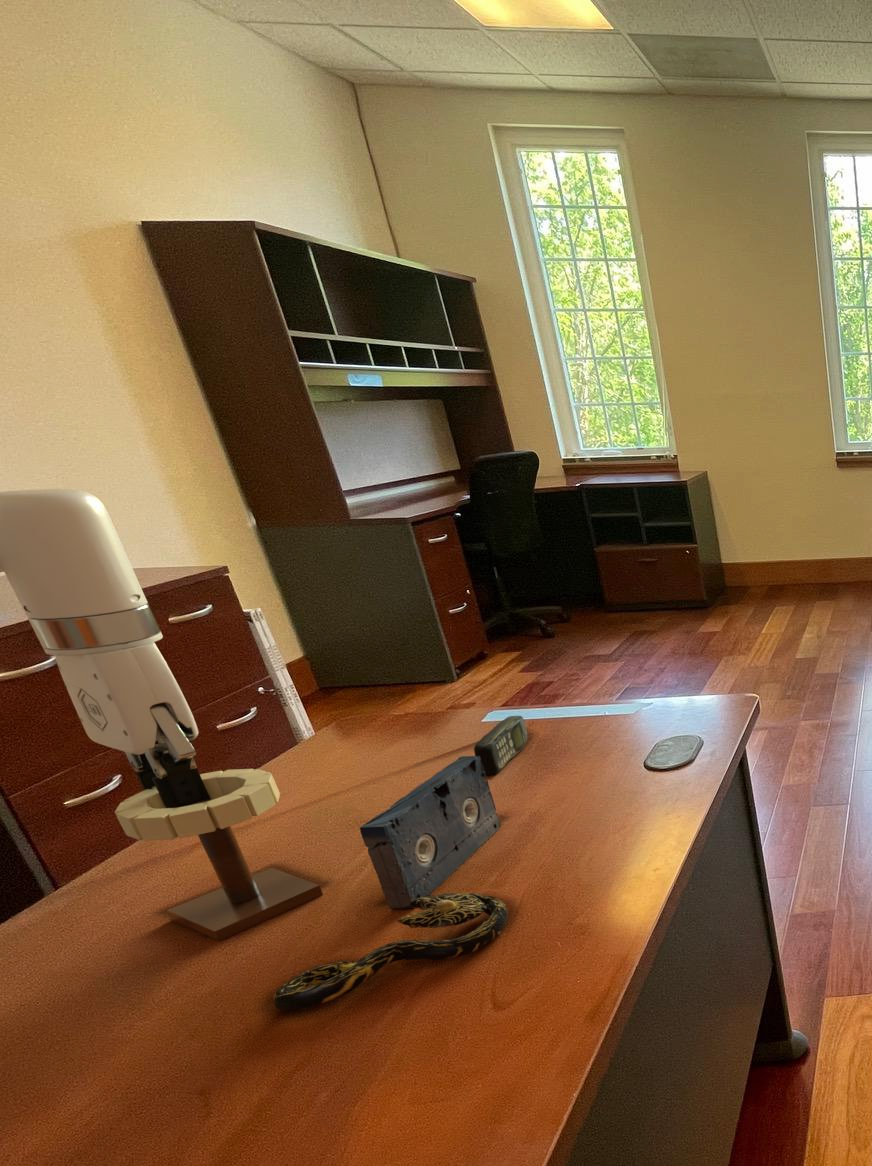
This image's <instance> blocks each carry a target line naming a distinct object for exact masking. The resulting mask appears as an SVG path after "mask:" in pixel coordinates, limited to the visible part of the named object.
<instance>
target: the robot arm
mask: <svg viewBox="0 0 872 1166" xmlns="http://www.w3.org/2000/svg"><path fill="white" fill-rule="evenodd" d="M3 572H4V575H5V577H6V579H7V581H8V583H9V584H10V586H11V588H12V591H13V592H14V594H15V596H16V599H17V600H18V602H19V604H20V605H21V607H22V610H23V612H24V614H25V616H26V617H27V619H28V621H29V623H30V625H31V627H32V629H33V631H34V633H35V635H36V637H37V639H38V641H39V643H40V645H41V647H42V649H43V651H44V652H45V654H46V655H49V656H54V657H55V661H56V665H57V667H58V670H59V673H60V675H61V678H62V680H63V683H64V686H65V688H66V690H67V692H68V695H69V698H70V700H71V702H72V704H73V707H74V709H75V711H76V713H77V716H78V718H79V720H80V722H81V725H82V727H83V729H84V731H85V733H86V735H87V737H88V739H90V740H91V741H92V742H94V743H96V744H99V745H102V746H104V747H108V748H112V749H115V750H118V751H121V752H124V754H125V755H126V758H127V760H128V762H129V764H130V766H131V767H132V769H133V770H134V771H135V776H136V777H137V779H138V781H139V783H140V786H141V788H142V789H143V791H144V790H146V789H152V787H154V786H156V788H157V790H158V792H159V795H160V797H161V799H162V801H163V803H164V805H165V807H166V808H179V807H184V806H189V805H191V804H194V803H196V802H200V801H204V800H211V798H210V796H209V794H208V791H207V789H206V787H205V785H204V783H203V781H202V778H201V776H200V774H201V773H200V772H199V770H198V767H197V764H196V761H195V759H194V757H195V756H196V755H197V752H196V750H195V747H194V746H193V745H192V743H191V742H190V741H194V740H195V739H197V737H198V736H199V728H198V725H197V723H196V720H195V717H194V714H193V713H192V710H191V708H190V706H189V704H188V702H187V700H186V697H185V695H184V694H183V691H182V689H181V687H180V686H179V684H178V682H177V679H176V678H175V676H174V674H173V672H172V671H171V669H170V667H169V665H168V663H167V661H166V660H165V658H164V656H163V655H162V653H161V651H160V650H159V648H158V646H157V644H156V643H155V642H158V641H161V640H162V639H163V638H164V636H163V634H162V633H163V632H162V631H161V629H160V627H159V624H158V622H157V620H156V618H155V615H154V613H153V611H152V608H151V606H150V604H149V602H148V600H147V597H146V596H145V593H144V591H143V589H142V587H141V584H140V582H139V580H138V577H137V575H136V572H135V570H134V568H133V566H132V563H131V561H130V559H129V557H128V555H127V552H126V550H125V548H124V545H123V543H122V541H121V539H120V536H119V534H118V532H117V530H116V528H115V525H114V523H113V520H112V519H111V517H110V514H109V513H108V510H107V509H106V506H105V504H103V502H102V501H101V500H100V499H99V498H98V497H96V496H95V495H94V494H92V493H89V492H88V491H84V490H81V489H68V488H47V489H46V488H44V489H21V490H8V491H0V573H3Z"/></svg>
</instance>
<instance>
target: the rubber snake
mask: <svg viewBox="0 0 872 1166" xmlns="http://www.w3.org/2000/svg"><path fill="white" fill-rule="evenodd" d="M410 905H411V907H415V908H414V909H417V910H421V911H418V912H413V913H412V914H408V915H404V916H402V917H399V918H397V923H399V924H402V925H404V926H408V927H409V928H411V929H417V928H421V929H422V928H426V929H438V928H447V927H455V926H458V925H462V924H465V923H467V922H470V921H472V920H474V919H476V918H478V917H480V916H481V915H482V914H483V913H484V914H487V915H488V916H489V918H488V919H486V920H484V921H483V922H482V923H481V924H480V925H478V926H477V927H476V928H475V929H473V930H472V931H471V932H469V933H467V934H465V935H462V936H460V937H457V938H456V937H455V938H452V939H444V940H423V939H422V940H421V939H418V940H416V939H415V940H414V939H412V940H411V939H410V940H409V939H408V940H407V939H401V940H397V941H393V942H389V943H386V944H384V945H382V946H379V947H377V948H375V949H374V950H372V951H370V952H368V953H367V954H366V955H364V956H363V957H361V958H360V959H359V960H358V961H356V962H354V961H336V962H331V963H330V962H329V963H326V964H321V965H318V966H316V967H313V968H311V969H308V970H305V971H303V972H301V973H299V974H298V975H296V976H294V977H293V978H292V979H290V980H288V981H287V982H286V983H285V984H283V985H281V986H280V987H279V988H278V989H277V990H276V992H275V993H274V994H273V1004H274V1007H275V1008H276V1009H278V1010H283V1011H287V1012H290V1011H298V1010H306V1009H308V1008H312V1007H314V1006H318V1005H321V1004H324V1003H327V1002H329V1001H332V1000H336V999H337V998H340V997H342V996H345V995H348V994H349V993H351V992H352V991H354V990H356V989H358V988H359V987H361V986H362V985H363V984H365V983H366V982H367V981H368V980H370V978H372V977H373V976H374V975H376V974H378V972H379V971H380V970H382V969H383V968H385V967H387V966H389V965H390V964H392V963H395V962H398V961H403V960H404V961H411V960H416V961H417V960H428V961H441V960H447V959H452V958H456V957H460V956H465V955H468V954H470V953H474V952H476V951H478V950H479V949H481V948H482V947H483V946H484V945H486V944H489V943H490V942H493V940H494V939H496V938H497V937H498V936H499V935H500V934H501V932H502V931H503V929H504V927H505V925H506V923H507V920H508V916H509V912H508V911H509V910H508V907H507V906H506V904H505V903H504V901H502V900H500V899H497V897H494V896H491V895H486V894H482V893H477V892H473V893H472V892H471V893H470V892H461V893H453V892H452V893H442V894H435V895H428V896H426V897H421V898H417V899H414V900H412V901H411V902H410Z"/></svg>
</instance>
